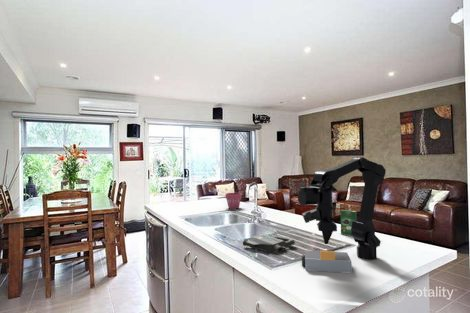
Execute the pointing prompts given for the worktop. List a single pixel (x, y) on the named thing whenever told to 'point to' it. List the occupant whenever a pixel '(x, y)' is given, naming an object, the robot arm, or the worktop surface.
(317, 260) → the door
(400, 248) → the worktop surface
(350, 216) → the coffee box
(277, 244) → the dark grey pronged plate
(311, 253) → the cabinet housing
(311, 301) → the worktop surface
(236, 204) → the plant pot
